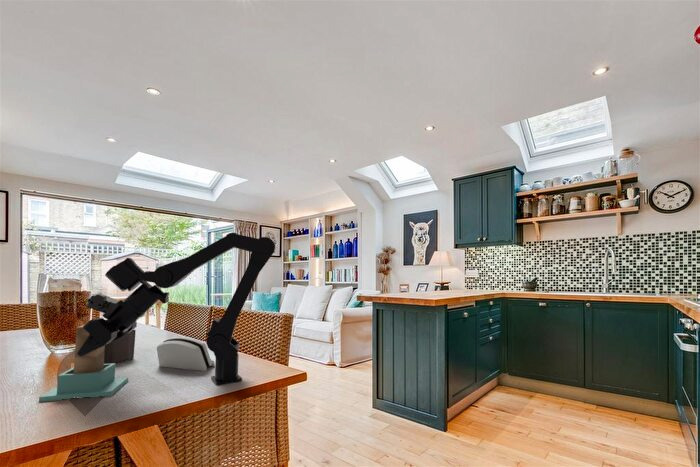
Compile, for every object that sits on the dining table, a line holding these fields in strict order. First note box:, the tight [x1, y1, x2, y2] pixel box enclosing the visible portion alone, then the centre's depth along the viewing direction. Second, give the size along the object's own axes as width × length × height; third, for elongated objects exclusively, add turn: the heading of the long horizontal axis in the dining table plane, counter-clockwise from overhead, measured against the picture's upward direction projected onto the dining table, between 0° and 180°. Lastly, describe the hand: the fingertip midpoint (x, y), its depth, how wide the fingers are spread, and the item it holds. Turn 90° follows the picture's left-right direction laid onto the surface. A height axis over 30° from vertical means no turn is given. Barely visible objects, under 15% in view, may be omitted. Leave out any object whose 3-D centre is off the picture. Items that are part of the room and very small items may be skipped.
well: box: [38, 363, 129, 403], centre depth 86 cm, size 14×11×5 cm
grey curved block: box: [156, 336, 215, 372], centre depth 106 cm, size 17×5×10 cm, turn 72°
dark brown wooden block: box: [104, 329, 136, 365], centre depth 112 cm, size 16×11×18 cm
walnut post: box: [73, 324, 105, 374], centre depth 86 cm, size 4×4×13 cm
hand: (83, 352), depth 86 cm, fingers closed on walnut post, 4 cm apart
